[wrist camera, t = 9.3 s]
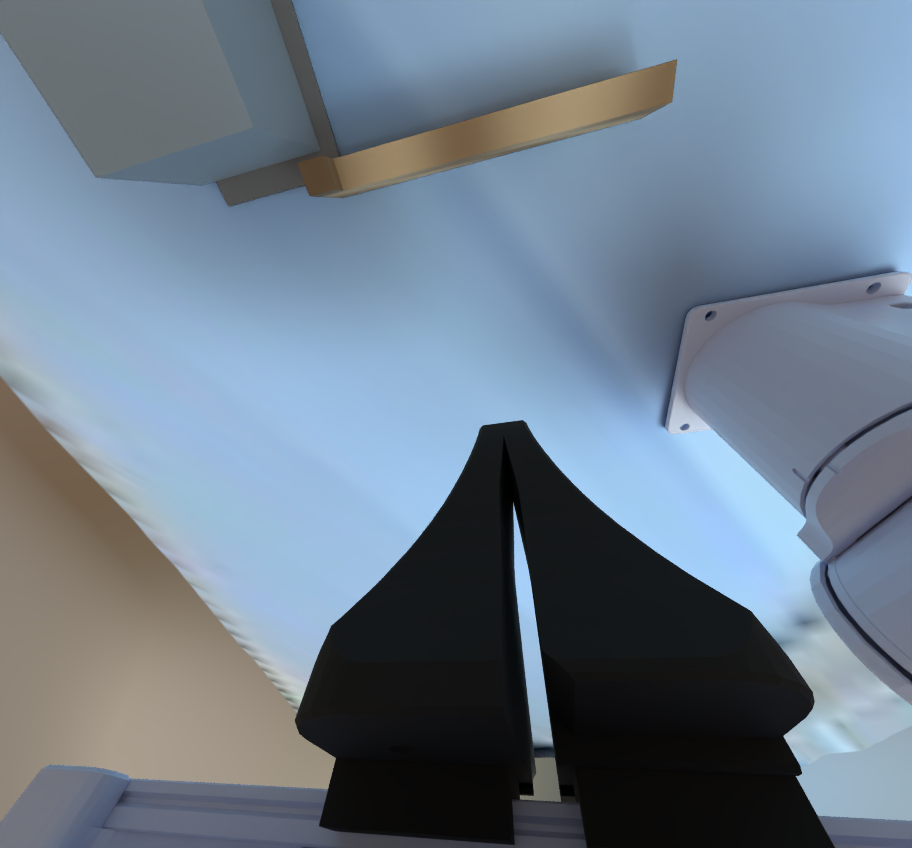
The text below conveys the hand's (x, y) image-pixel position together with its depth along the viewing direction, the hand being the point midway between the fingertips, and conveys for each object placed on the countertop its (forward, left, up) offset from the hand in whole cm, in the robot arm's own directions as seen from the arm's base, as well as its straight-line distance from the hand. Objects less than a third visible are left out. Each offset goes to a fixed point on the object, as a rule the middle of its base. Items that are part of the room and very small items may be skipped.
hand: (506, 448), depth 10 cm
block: (+9, -12, -10) cm, 18 cm away
